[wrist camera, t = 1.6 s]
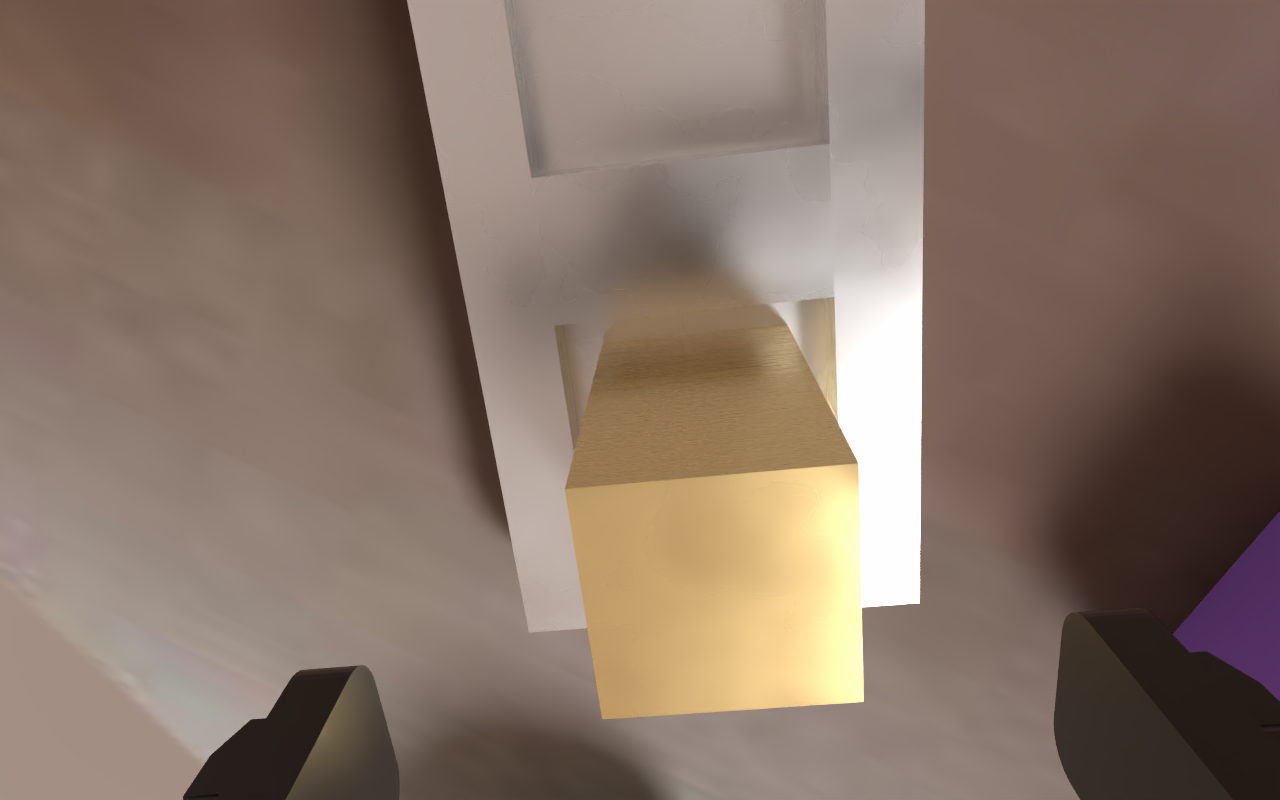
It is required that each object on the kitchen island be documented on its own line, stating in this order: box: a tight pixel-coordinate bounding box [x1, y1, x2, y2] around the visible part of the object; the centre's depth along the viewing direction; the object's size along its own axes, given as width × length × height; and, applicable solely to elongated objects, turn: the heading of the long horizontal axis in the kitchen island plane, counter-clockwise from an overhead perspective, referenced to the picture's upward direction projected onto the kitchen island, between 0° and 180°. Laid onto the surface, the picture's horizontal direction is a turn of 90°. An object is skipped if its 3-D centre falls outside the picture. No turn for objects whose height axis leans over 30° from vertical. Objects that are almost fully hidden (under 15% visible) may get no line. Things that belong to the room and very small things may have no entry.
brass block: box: [565, 324, 864, 719], centre depth 15 cm, size 4×4×7 cm
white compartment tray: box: [407, 0, 925, 632], centre depth 15 cm, size 9×26×3 cm, turn 6°
